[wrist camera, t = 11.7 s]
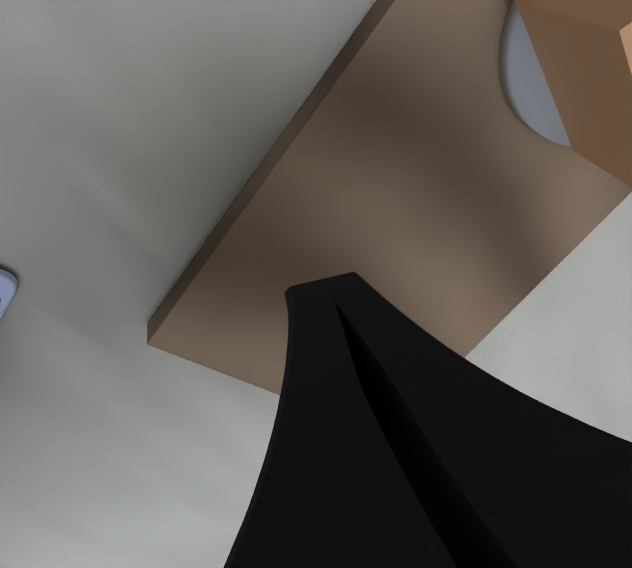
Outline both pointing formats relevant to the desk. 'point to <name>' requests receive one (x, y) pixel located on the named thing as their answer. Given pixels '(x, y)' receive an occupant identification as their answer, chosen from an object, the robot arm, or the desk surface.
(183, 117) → the desk surface
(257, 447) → the desk surface
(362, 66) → the hub board
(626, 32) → the collar
